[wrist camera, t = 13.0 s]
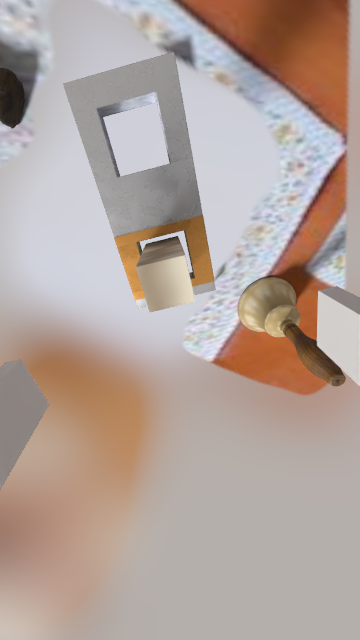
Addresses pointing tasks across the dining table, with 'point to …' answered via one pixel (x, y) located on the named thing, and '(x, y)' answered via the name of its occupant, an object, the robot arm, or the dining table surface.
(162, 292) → the peg
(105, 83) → the grey board
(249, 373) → the dining table surface
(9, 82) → the hand tool
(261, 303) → the hand bell
